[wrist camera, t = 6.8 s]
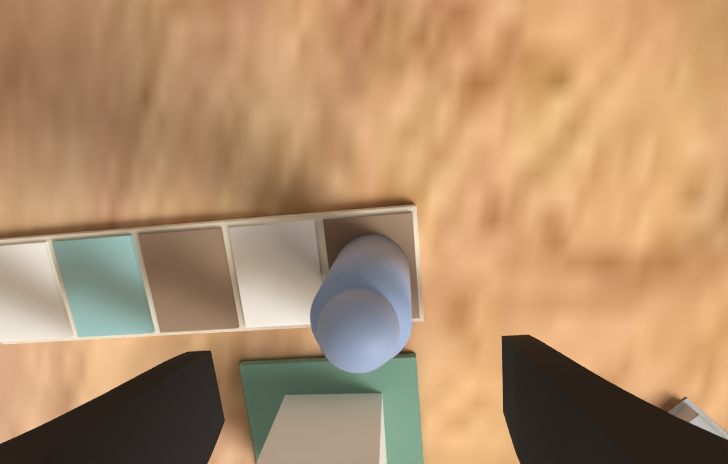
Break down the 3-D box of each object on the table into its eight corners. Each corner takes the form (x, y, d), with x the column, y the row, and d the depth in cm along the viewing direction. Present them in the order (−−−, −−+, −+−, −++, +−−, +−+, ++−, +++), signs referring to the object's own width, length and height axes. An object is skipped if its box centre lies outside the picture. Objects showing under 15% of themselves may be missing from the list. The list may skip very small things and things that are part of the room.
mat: (426, 500, 21) (426, 507, 21) (267, 502, 22) (265, 509, 22) (415, 353, 19) (415, 357, 19) (241, 361, 20) (238, 365, 20)
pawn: (409, 305, 18) (413, 405, 11) (337, 304, 18) (299, 401, 11) (409, 233, 17) (413, 295, 10) (333, 234, 17) (289, 295, 11)
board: (423, 315, 19) (424, 322, 18) (12, 338, 21) (-3, 346, 20) (415, 203, 18) (416, 207, 17) (-20, 239, 20) (-37, 243, 19)
